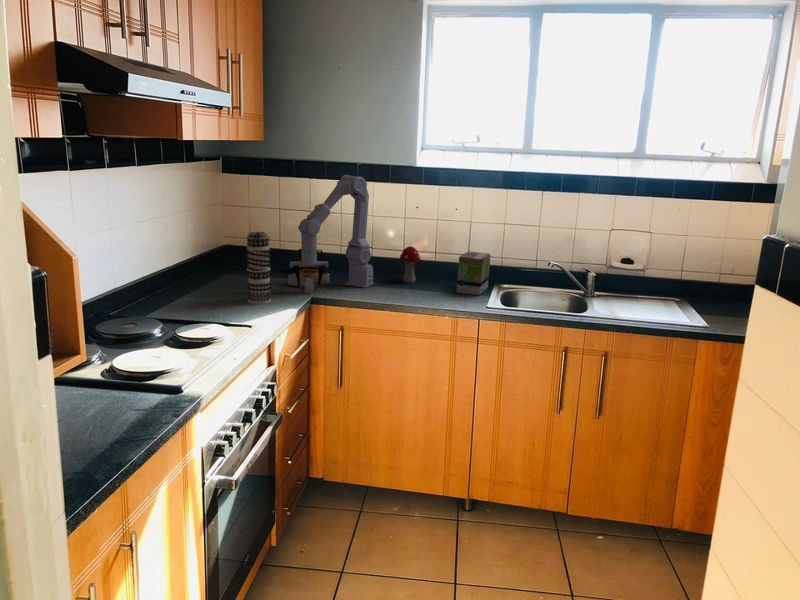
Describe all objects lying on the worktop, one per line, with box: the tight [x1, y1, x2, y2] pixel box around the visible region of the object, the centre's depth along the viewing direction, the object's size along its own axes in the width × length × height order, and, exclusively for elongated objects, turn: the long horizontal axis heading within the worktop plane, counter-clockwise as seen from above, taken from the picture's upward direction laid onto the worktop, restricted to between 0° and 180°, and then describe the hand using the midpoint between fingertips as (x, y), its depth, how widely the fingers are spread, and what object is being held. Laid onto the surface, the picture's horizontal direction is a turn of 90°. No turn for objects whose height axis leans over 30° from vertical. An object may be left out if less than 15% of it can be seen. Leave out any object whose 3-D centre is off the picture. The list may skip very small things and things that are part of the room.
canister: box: [304, 275, 315, 294], centre depth 255 cm, size 4×4×7 cm
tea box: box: [456, 250, 491, 296], centre depth 265 cm, size 15×10×15 cm
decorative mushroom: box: [399, 245, 421, 284], centre depth 276 cm, size 10×9×15 cm
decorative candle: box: [244, 231, 272, 305], centre depth 237 cm, size 9×9×25 cm
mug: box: [297, 248, 324, 270], centre depth 292 cm, size 8×12×10 cm
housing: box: [287, 269, 331, 289], centre depth 267 cm, size 12×12×5 cm
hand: (309, 285), depth 255 cm, fingers open, 7 cm apart
